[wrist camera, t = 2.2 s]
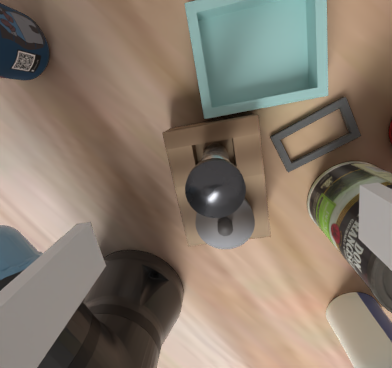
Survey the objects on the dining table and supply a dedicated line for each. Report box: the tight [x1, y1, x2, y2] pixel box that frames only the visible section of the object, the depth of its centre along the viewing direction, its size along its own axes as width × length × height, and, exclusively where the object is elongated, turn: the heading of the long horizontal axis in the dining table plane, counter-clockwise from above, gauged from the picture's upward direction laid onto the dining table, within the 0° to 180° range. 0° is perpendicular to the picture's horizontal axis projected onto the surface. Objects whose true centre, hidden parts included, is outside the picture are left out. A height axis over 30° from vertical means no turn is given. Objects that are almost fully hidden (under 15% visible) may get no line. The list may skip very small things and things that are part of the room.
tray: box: [185, 0, 328, 119], centre depth 25 cm, size 13×11×3 cm
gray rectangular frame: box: [270, 97, 361, 172], centre depth 29 cm, size 9×5×1 cm, turn 121°
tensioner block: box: [163, 113, 271, 249], centre depth 28 cm, size 14×10×8 cm
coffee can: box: [307, 161, 392, 313], centre depth 25 cm, size 10×10×14 cm
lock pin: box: [185, 143, 246, 218], centre depth 23 cm, size 4×4×12 cm
